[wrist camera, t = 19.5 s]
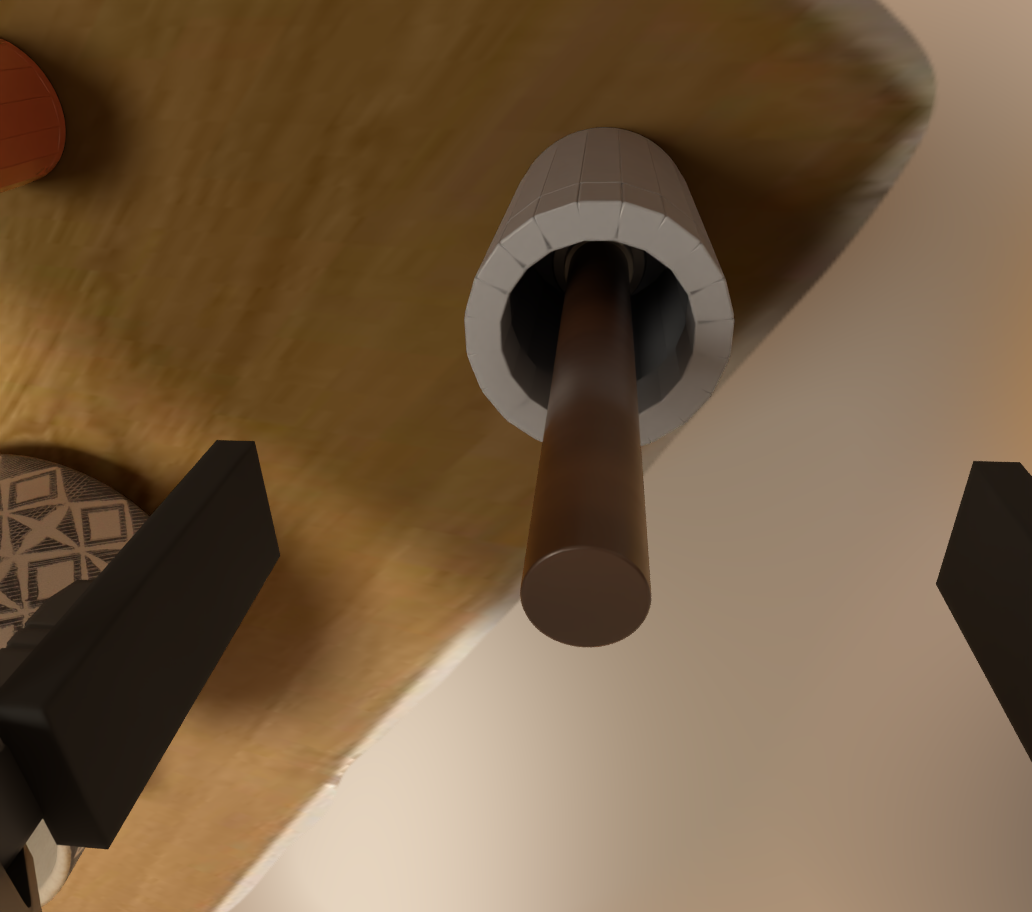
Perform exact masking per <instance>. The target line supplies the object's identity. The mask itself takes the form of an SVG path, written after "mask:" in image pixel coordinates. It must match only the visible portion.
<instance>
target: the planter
mask: <svg viewBox="0 0 1032 912" xmlns="http://www.w3.org/2000/svg"><path fill="white" fill-rule="evenodd" d="M149 517H150V516H149V515H148V514H147V513H145V512H144V511H143V510H142V509H141V508H139V507H138V506H137V505H136V504H134V503H133V502H132V501H130V500H129V499H128V498H126V497H125V496H123V495H122V494H121V493H119V492H117V491H116V490H114V489H113V488H111V487H109V486H108V485H106V484H104V483H102V482H100V481H99V480H97V479H95V478H92V477H90V476H88V475H86V474H84V473H82V472H79V471H77V470H74V469H72V468H69V467H66V466H63V465H61V464H58V463H54V462H51V461H47V460H43V459H39V458H34V457H29V456H22V455H13V454H0V649H1V648H6V646H7V642H8V641H9V640H10V639H11V637H12V636H13V635H14V634H15V633H16V632H17V631H18V630H19V629H20V628H24V626H25V622H26V621H27V620H28V619H29V618H30V617H31V616H32V615H33V614H34V613H35V612H36V610H37V609H38V608H39V607H40V606H41V605H42V604H43V603H44V602H45V601H46V600H47V599H48V598H50V597H51V596H53V595H54V594H56V593H57V592H59V591H60V590H62V589H64V588H65V587H67V586H68V585H70V584H71V583H73V582H74V581H76V580H77V579H80V580H95V579H96V578H97V576H98V575H99V574H100V573H101V572H102V571H103V570H104V568H105V567H106V566H107V565H108V564H109V563H110V562H111V560H112V559H113V558H114V557H115V556H116V555H117V554H118V552H119V551H120V550H121V549H122V548H123V547H124V546H125V544H126V543H127V542H128V541H129V540H130V539H131V538H132V536H133V535H134V534H135V533H136V532H137V531H138V530H139V528H140V527H141V526H142V525H143V524H144V523H145V522H146V520H147V519H148V518H149ZM26 845H27V847H28V848H29V850H30V852H31V854H32V856H33V859H34V866H35V872H36V878H37V884H38V891H39V897H40V903H41V907H42V906H44V905H45V904H47V903H48V902H49V901H50V900H52V899H53V898H54V897H55V896H56V894H57V893H58V892H59V891H60V889H61V888H62V886H63V885H64V883H65V881H66V880H67V878H68V876H69V875H70V873H71V871H72V869H73V868H74V866H75V864H76V863H77V861H78V859H79V857H80V856H81V854H82V852H83V851H84V849H85V847H76V846H64V845H56V843H55V841H54V839H53V837H52V835H51V833H50V831H49V829H48V828H47V826H46V824H45V822H44V820H43V819H42V820H41V822H40V823H39V824H38V826H37V827H36V829H35V830H34V832H33V833H32V835H31V836H30V838H29V839H28V840H27V842H26Z"/></svg>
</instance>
